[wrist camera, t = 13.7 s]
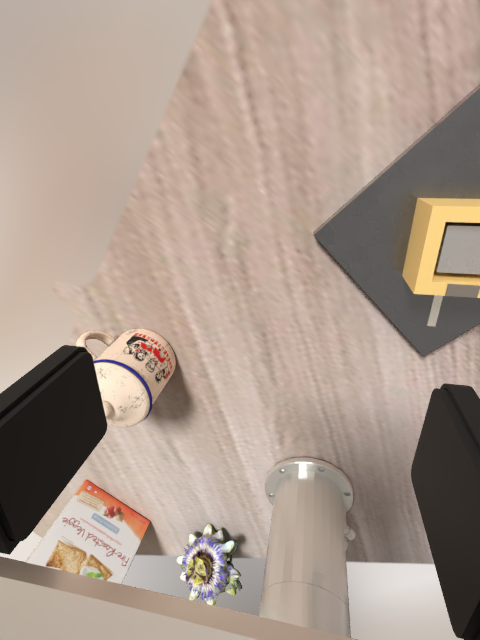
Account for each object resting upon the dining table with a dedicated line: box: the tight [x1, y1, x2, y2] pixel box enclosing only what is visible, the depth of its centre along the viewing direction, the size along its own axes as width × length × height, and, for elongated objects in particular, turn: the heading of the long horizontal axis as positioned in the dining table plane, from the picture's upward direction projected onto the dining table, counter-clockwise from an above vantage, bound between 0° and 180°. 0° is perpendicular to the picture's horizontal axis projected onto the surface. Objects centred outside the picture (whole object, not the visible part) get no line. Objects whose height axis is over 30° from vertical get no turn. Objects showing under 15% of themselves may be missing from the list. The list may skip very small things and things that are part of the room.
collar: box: [402, 198, 480, 298], centre depth 31 cm, size 7×7×5 cm
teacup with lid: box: [76, 329, 176, 427], centre depth 43 cm, size 12×9×12 cm
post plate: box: [314, 85, 480, 356], centre depth 32 cm, size 18×18×6 cm
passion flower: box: [177, 524, 242, 606], centre depth 60 cm, size 11×11×12 cm
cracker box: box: [26, 480, 150, 584], centre depth 55 cm, size 14×6×21 cm, turn 55°
